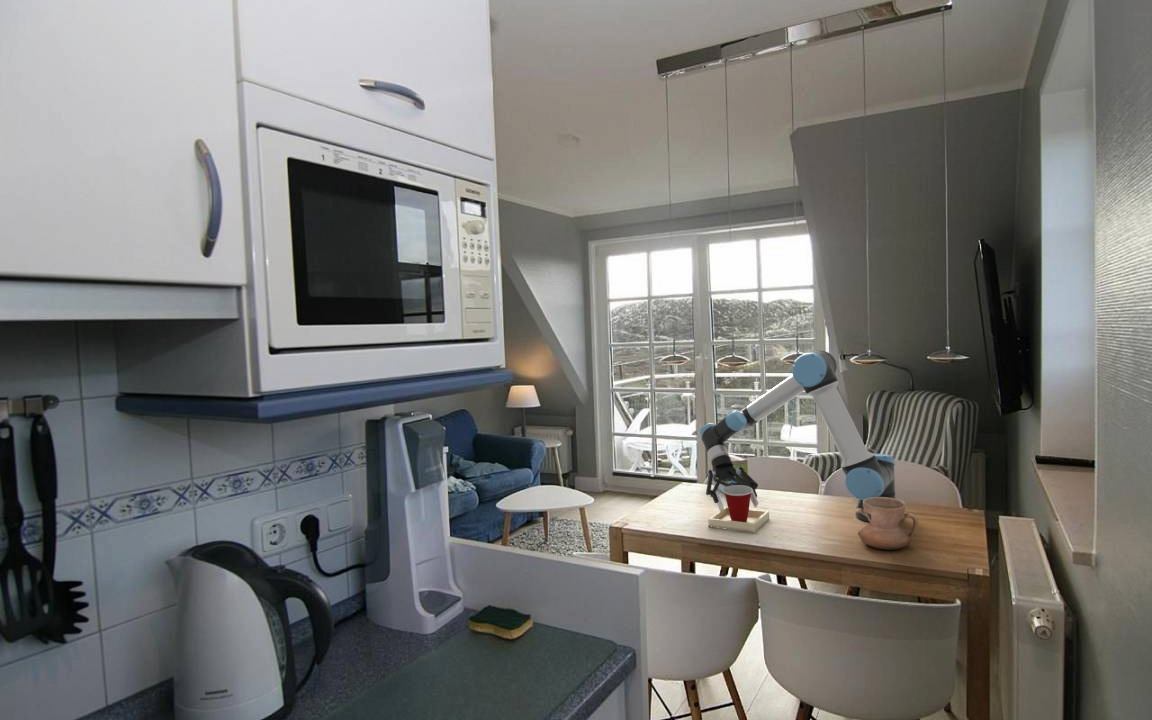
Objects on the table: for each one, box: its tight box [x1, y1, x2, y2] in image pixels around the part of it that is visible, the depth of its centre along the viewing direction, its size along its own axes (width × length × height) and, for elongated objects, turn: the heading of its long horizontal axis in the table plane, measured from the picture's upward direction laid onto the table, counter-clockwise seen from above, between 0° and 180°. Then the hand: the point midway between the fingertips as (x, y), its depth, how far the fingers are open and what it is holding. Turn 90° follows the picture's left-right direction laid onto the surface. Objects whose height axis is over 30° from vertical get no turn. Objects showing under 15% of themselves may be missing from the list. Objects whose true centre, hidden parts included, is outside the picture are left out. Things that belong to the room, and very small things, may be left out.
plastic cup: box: [722, 485, 753, 522], centre depth 235 cm, size 11×11×12 cm
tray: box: [707, 506, 770, 534], centre depth 235 cm, size 17×17×3 cm
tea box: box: [712, 453, 749, 493], centre depth 281 cm, size 15×10×15 cm, turn 13°
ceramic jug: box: [854, 497, 919, 551], centre depth 203 cm, size 18×14×14 cm
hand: (739, 507), depth 234 cm, fingers open, 13 cm apart
